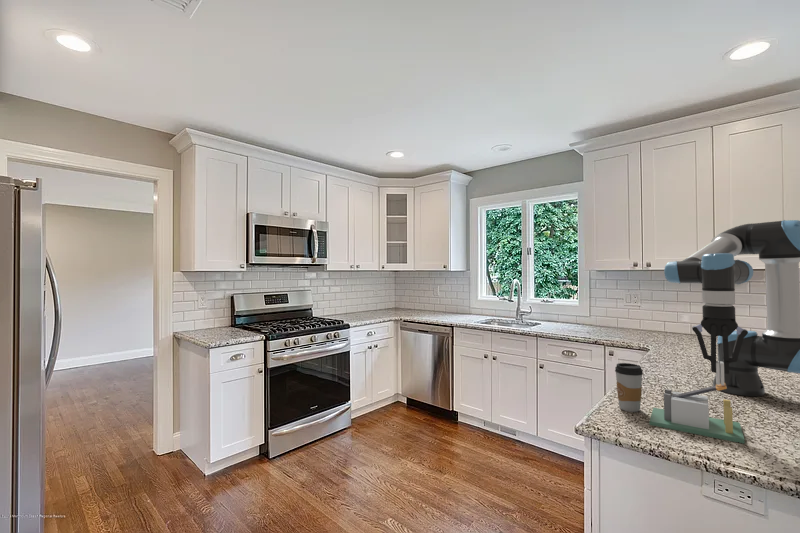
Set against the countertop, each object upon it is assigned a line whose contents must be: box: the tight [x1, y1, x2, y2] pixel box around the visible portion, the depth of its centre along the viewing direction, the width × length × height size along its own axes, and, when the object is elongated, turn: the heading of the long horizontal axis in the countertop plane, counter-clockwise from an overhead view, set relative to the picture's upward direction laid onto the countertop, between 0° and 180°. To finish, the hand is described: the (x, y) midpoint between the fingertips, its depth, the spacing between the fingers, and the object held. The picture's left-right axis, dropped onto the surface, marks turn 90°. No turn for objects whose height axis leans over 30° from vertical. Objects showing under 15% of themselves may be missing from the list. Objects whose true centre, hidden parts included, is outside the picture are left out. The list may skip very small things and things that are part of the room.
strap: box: [671, 383, 727, 398], centre depth 117 cm, size 16×4×1 cm, turn 52°
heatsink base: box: [649, 388, 745, 444], centre depth 117 cm, size 22×14×9 cm, turn 52°
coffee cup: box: [614, 362, 644, 413], centre depth 132 cm, size 8×8×15 cm
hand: (720, 383), depth 113 cm, fingers closed
